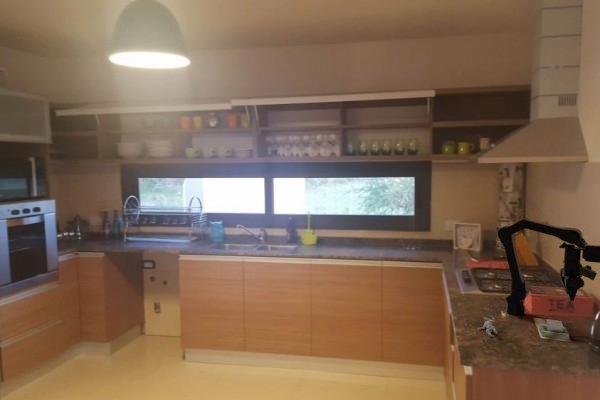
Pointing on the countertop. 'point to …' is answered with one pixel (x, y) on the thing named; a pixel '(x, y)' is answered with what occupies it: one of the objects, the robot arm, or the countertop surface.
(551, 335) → the chassis
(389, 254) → the countertop surface
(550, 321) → the engine block
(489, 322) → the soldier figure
